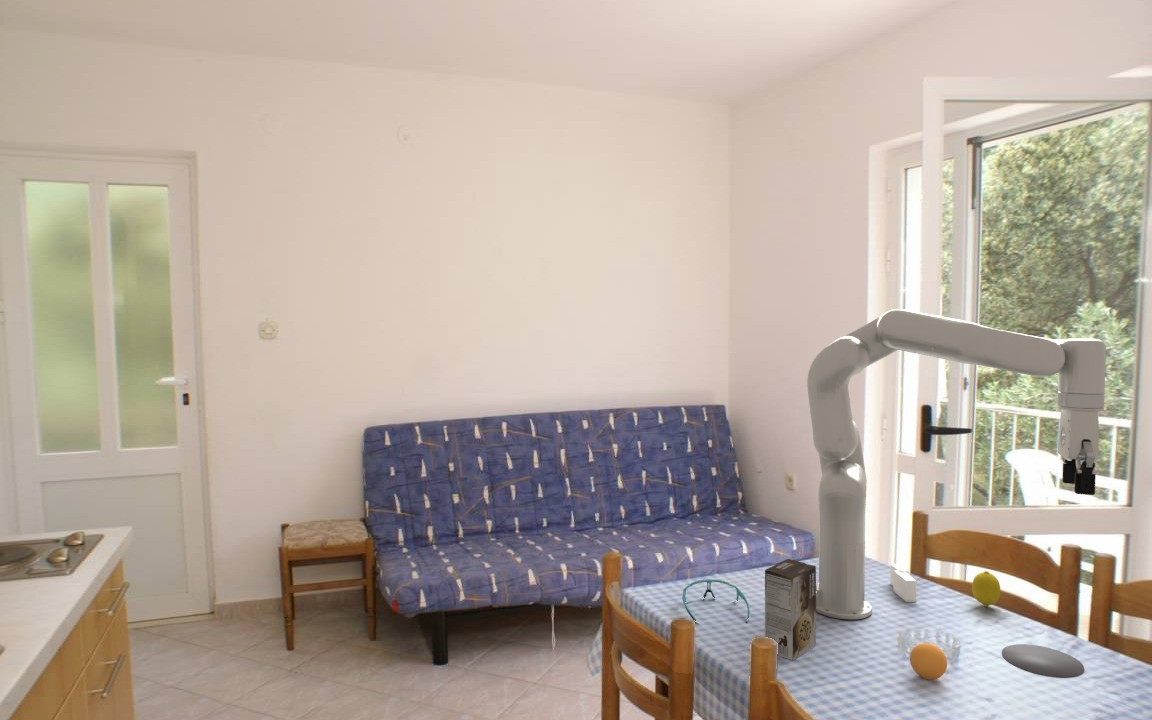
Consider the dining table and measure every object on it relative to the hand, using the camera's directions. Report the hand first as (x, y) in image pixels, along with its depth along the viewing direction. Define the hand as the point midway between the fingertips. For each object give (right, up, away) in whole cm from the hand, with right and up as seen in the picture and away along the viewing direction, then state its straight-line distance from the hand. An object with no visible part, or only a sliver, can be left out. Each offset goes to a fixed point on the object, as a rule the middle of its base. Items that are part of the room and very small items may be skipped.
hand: (1078, 488), depth 146 cm
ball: (-36, -28, -13) cm, 48 cm away
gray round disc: (-12, -31, -7) cm, 34 cm away
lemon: (-8, -30, +19) cm, 36 cm away
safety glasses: (-68, -31, +18) cm, 77 cm away
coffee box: (-57, -31, -1) cm, 65 cm away
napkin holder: (-22, -30, +28) cm, 46 cm away
